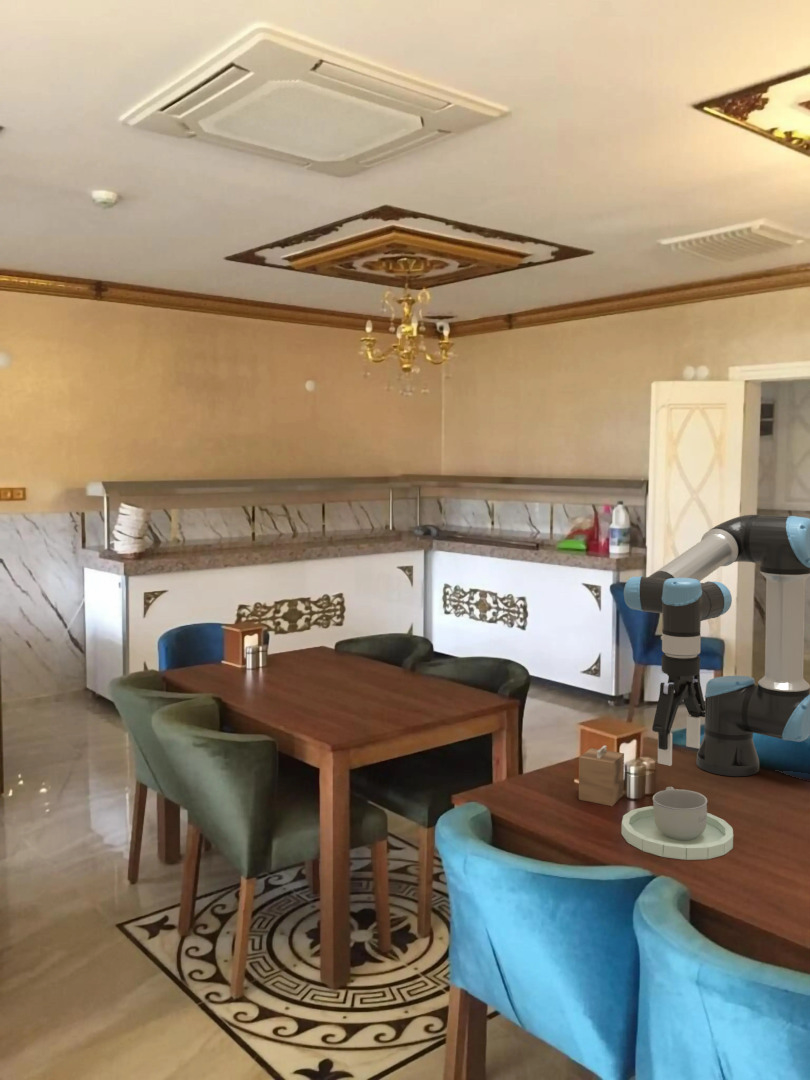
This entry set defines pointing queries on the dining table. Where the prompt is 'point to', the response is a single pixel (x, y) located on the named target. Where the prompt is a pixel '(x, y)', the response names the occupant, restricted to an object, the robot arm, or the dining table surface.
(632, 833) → the tray
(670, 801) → the teacup
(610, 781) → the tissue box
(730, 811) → the dining table surface
